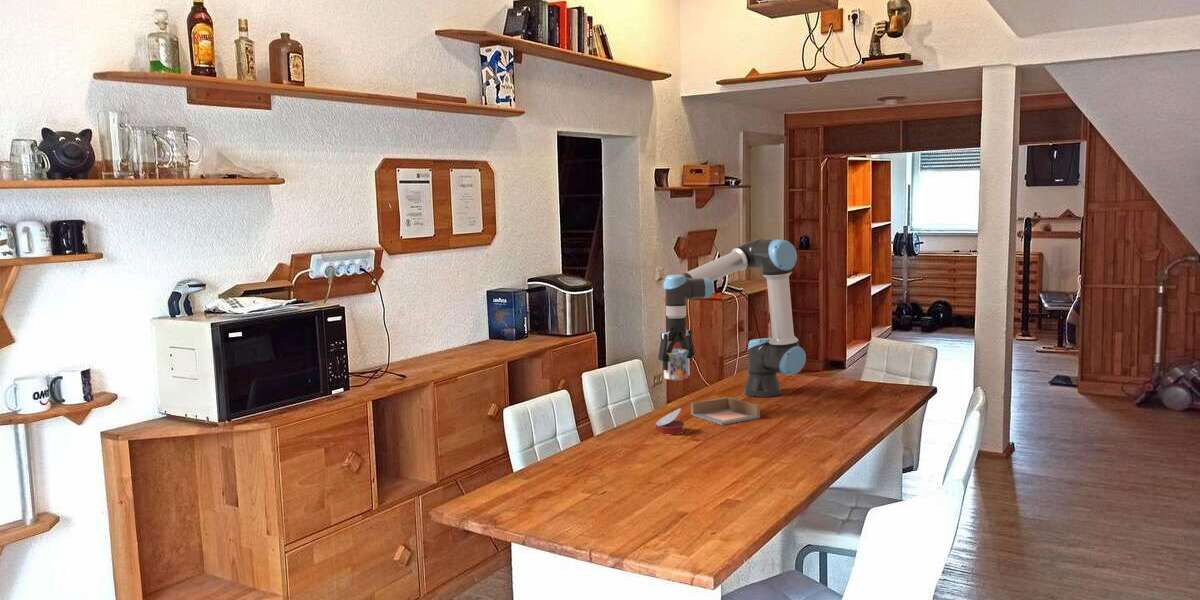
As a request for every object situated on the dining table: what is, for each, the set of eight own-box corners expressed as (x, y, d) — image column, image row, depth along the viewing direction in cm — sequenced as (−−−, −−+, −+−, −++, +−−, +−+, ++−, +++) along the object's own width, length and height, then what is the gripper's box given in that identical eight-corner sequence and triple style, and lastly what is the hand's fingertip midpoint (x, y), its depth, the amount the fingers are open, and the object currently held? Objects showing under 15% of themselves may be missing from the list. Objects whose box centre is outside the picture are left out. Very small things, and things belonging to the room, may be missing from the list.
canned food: (676, 448, 315) (671, 426, 310) (652, 441, 321) (646, 419, 316) (692, 427, 323) (688, 406, 317) (669, 421, 328) (663, 399, 323)
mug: (686, 382, 333) (685, 353, 332) (661, 381, 336) (660, 352, 335) (693, 375, 344) (692, 347, 343) (669, 374, 347) (668, 347, 346)
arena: (728, 409, 351) (728, 396, 351) (759, 418, 336) (759, 405, 336) (690, 416, 342) (690, 402, 342) (721, 425, 327) (721, 411, 326)
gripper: (690, 313, 347) (691, 371, 349) (647, 318, 334) (648, 379, 336) (704, 314, 341) (705, 374, 343) (660, 320, 328) (662, 382, 330)
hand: (677, 376), depth 340 cm, fingers closed on mug, 9 cm apart
